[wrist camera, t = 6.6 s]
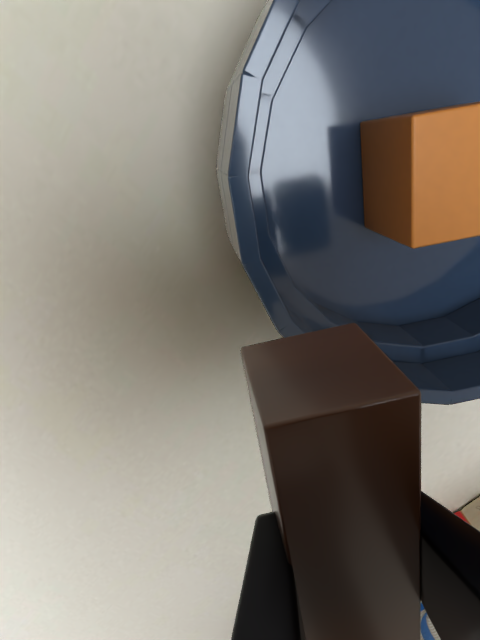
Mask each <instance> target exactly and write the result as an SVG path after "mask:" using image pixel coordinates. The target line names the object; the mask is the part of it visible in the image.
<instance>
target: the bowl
mask: <svg viewBox="0 0 480 640" xmlns="http://www.w3.org/2000/svg"><path fill="white" fill-rule="evenodd" d="M479 101H480V0H268V1H267V3H266V5H265V6H264V8H263V10H262V11H261V13H260V15H259V16H258V18H257V21H256V23H255V25H254V28H253V30H252V32H251V34H250V37H249V39H248V41H247V44H246V46H245V48H244V50H243V53H242V55H241V57H240V60H239V62H238V64H237V66H236V69H235V71H234V73H233V76H232V78H231V80H230V83H229V85H228V87H227V89H226V94H225V99H224V107H223V115H222V123H221V131H220V139H219V147H218V155H217V163H216V167H217V170H216V172H217V178H218V184H219V190H220V195H221V201H222V207H223V213H224V219H225V224H226V230H227V235H228V238H229V240H230V242H231V244H232V246H233V248H234V250H235V252H236V254H237V256H238V258H239V260H240V262H241V264H242V266H243V268H244V270H245V272H246V274H247V276H248V277H249V279H250V281H251V283H252V285H253V287H254V289H255V291H256V292H257V294H258V296H259V298H260V300H261V302H262V304H263V306H264V308H265V309H266V311H267V313H268V315H269V317H270V319H271V321H272V323H273V324H274V326H275V328H276V330H277V331H278V333H279V334H280V335H282V336H283V337H284V338H286V337H290V336H295V335H300V334H304V333H309V332H313V331H318V330H323V329H327V328H332V327H336V326H341V325H345V324H350V323H356V324H357V325H358V326H359V327H360V328H361V329H362V331H363V332H364V333H365V334H366V335H367V336H368V337H369V338H370V339H371V340H372V341H373V342H374V343H375V344H376V345H377V346H378V347H379V348H380V349H381V350H382V351H383V352H384V354H385V355H386V356H387V357H388V358H389V359H390V360H391V361H392V362H393V363H394V364H395V365H396V366H397V367H398V368H399V369H400V370H401V371H402V372H403V373H404V374H405V375H406V377H407V378H408V379H409V380H410V381H411V382H412V383H413V384H414V385H415V386H416V387H417V388H418V389H419V390H420V392H421V403H429V404H444V405H449V404H456V403H461V402H465V401H470V400H475V399H479V398H480V236H476V237H471V238H465V239H460V240H455V241H450V242H445V243H440V244H435V245H429V246H424V247H419V248H414V249H413V248H410V247H408V246H405V245H403V244H401V243H399V242H397V241H394V240H392V239H390V238H388V237H385V236H383V235H381V234H379V233H376V232H374V231H372V230H370V229H367V228H365V224H364V201H363V178H362V155H361V132H360V124H361V122H363V121H369V120H374V119H380V118H386V117H391V116H397V115H403V114H408V113H414V112H420V111H425V110H431V109H437V108H442V107H448V106H454V105H459V104H466V103H473V102H479Z"/></svg>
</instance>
